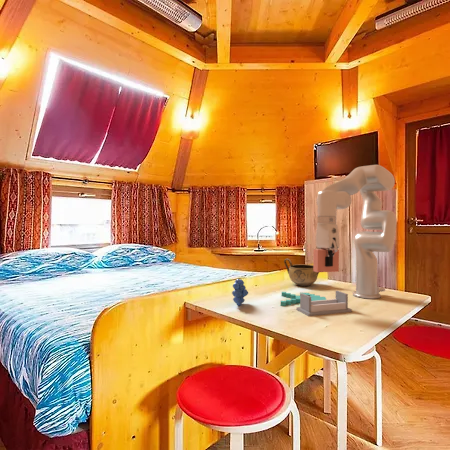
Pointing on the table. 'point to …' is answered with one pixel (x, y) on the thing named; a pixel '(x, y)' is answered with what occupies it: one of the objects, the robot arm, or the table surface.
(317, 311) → the track
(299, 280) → the ceramic bowl
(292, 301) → the alien figure
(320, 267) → the salmon pink rectangular block
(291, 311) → the table surface
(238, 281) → the grapes
